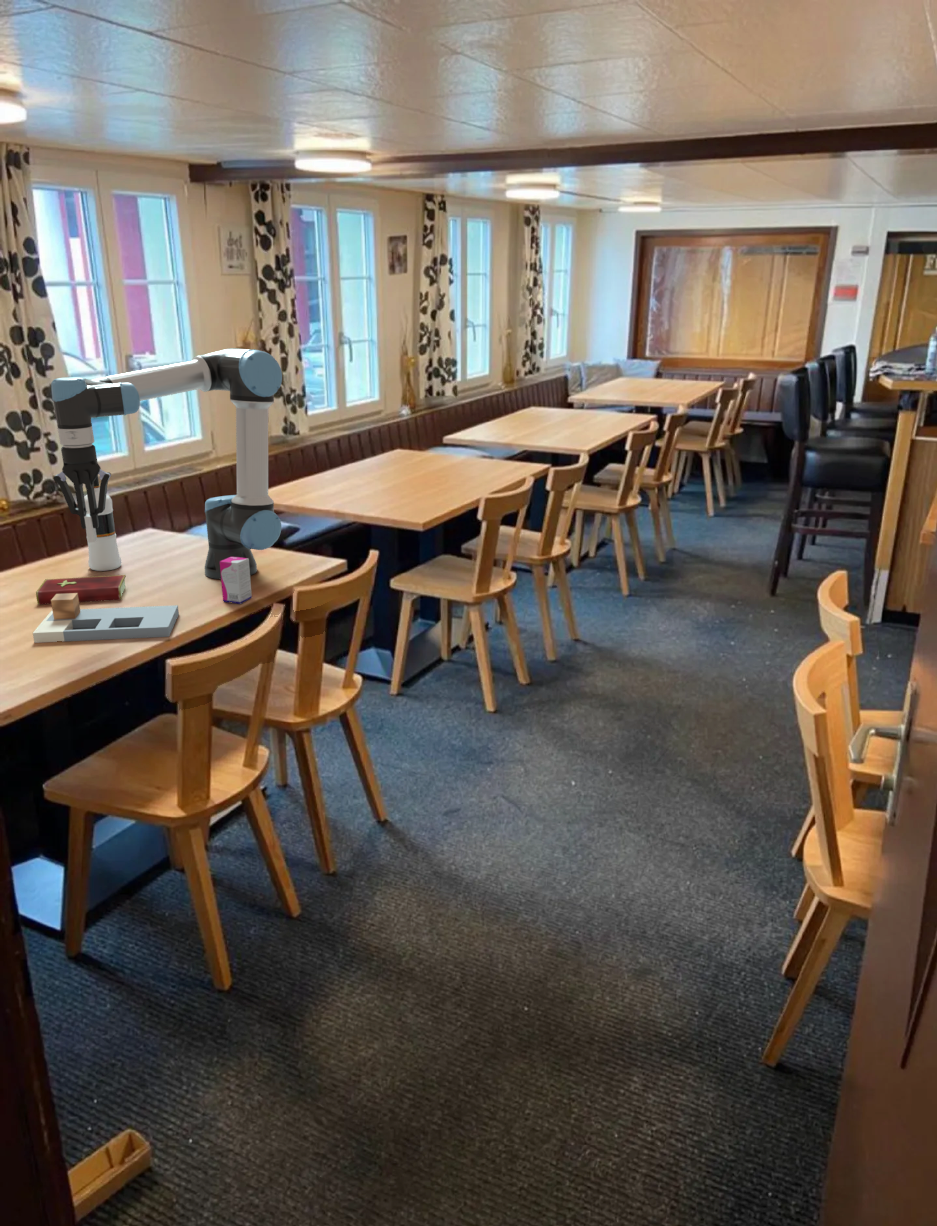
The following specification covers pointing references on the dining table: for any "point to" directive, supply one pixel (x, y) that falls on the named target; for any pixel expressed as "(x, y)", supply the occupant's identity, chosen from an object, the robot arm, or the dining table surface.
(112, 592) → the hardcover book
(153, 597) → the dining table surface
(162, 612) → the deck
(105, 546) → the vodka
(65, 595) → the block
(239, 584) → the supplement box
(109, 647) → the dining table surface
